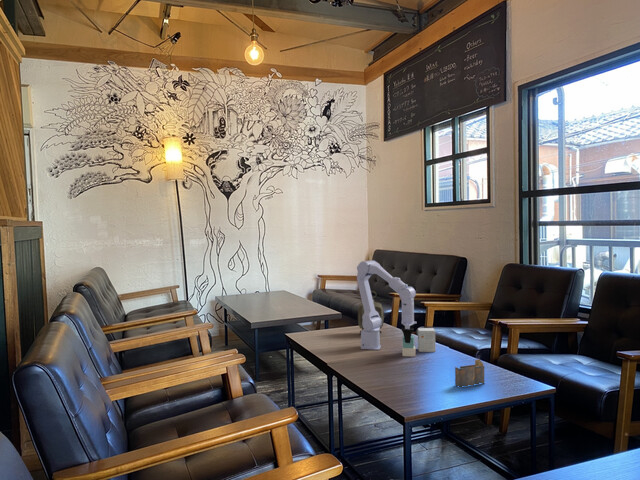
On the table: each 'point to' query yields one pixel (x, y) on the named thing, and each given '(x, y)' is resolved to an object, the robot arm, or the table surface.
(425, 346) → the small box
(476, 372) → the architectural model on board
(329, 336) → the table surface
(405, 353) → the cream block
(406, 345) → the teal cube
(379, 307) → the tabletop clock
